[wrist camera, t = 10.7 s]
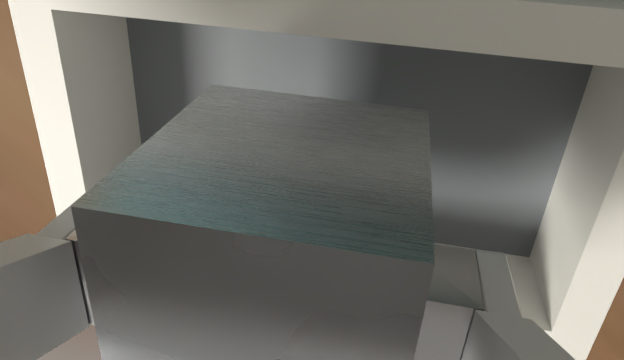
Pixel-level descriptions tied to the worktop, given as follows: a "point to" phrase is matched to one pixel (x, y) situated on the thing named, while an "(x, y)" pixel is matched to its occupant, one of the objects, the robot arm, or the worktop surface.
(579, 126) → the holder
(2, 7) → the worktop surface
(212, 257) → the steel block
